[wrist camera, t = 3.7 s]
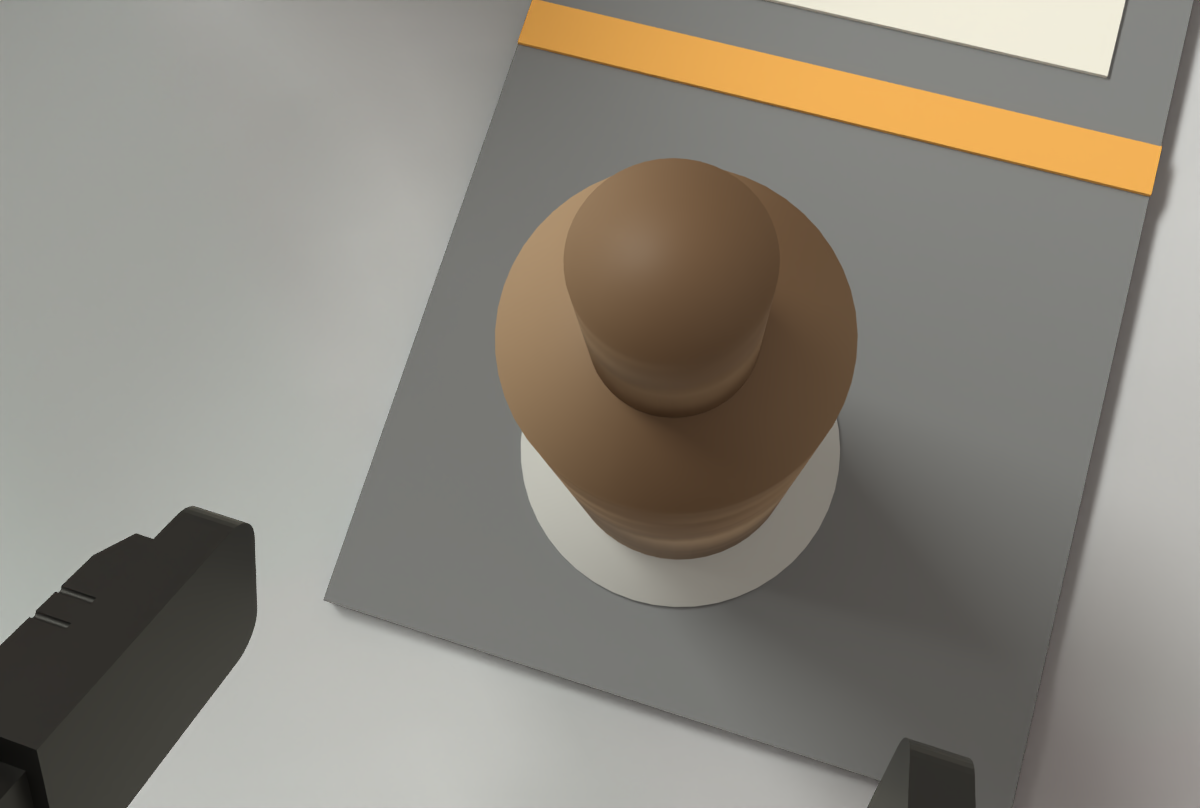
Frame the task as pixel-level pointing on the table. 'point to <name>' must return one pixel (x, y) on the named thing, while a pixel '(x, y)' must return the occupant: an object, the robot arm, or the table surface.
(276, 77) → the table surface
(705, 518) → the walnut skittle
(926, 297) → the lane mat
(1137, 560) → the table surface
